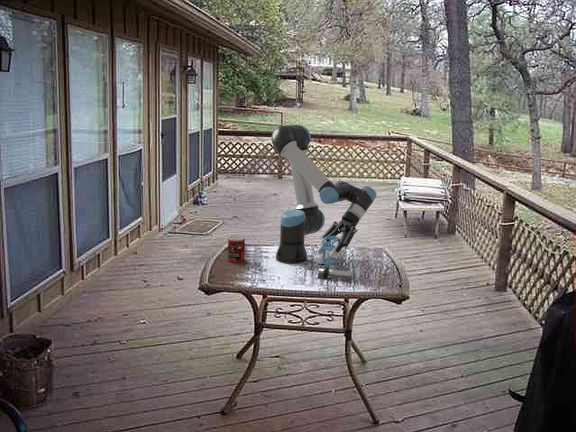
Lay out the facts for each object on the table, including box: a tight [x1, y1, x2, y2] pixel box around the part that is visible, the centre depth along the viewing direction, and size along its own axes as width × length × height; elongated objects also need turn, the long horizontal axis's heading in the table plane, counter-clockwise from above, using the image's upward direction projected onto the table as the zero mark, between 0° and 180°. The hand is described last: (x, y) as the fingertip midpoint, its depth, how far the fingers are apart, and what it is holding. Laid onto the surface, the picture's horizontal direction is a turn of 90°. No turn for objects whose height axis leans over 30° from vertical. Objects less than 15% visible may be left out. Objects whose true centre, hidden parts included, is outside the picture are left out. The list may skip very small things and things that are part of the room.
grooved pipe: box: [317, 266, 353, 283], centre depth 272 cm, size 14×5×5 cm, turn 74°
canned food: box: [227, 235, 246, 263], centre depth 294 cm, size 8×8×11 cm
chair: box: [321, 235, 343, 266], centre depth 279 cm, size 8×8×12 cm
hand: (325, 254), depth 277 cm, fingers closed on chair, 7 cm apart
